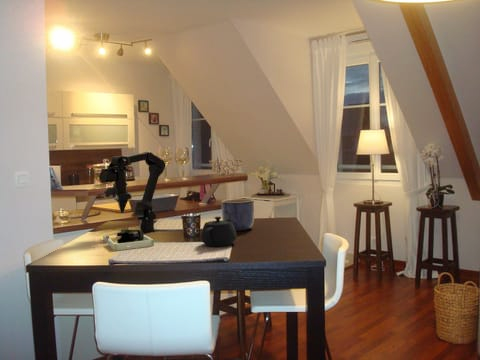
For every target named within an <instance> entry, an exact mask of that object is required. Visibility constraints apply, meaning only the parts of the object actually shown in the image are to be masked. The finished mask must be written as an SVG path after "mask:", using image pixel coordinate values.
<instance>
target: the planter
mask: <svg viewBox="0 0 480 360" xmlns="http://www.w3.org/2000/svg"><path fill="white" fill-rule="evenodd" d="M254 203H255V202H254V199H251V198H232V199H224V200H221V218H222V221H227V220H228V219H229V218H231V221H230V222H231V223H232V225H233V226H234V229H235V231H236V232H241V231H242V232H243V231H248V230H249V229H251V227H253V225H254V222H255V205H254Z"/></svg>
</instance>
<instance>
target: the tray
mask: <svg viewBox="0 0 480 360" xmlns="http://www.w3.org/2000/svg"><path fill="white" fill-rule="evenodd" d="M107 245H108V247H110V249H112V250H113V251H114V252H115V251H116V252H117V251H122V250H130V249H137V248H138V249H140V248H145V247H148V248H149V247H154V246H155V242H154V239H153V238H152V237H149V236H147V235H146V234H144V239H143V241H136V242H128V243H120V244H119V243H117V242H115V241H113V240H112V239H111V238H109V239H108V243H107ZM127 246H130V247H127Z"/></svg>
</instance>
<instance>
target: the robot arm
mask: <svg viewBox="0 0 480 360" xmlns="http://www.w3.org/2000/svg"><path fill="white" fill-rule="evenodd" d="M141 161H142V162H143V161H145V164H146V165H147V166H148V172H149V173H148V174H149V176H148V179H147V183H146V185H145V189H144V192H143V196H142V199H141V200H140V201H137V202H136V205H135V207H134V213H135V216H136V217H137V220H140V221H139V230H141V231H142V232H143V234H144V233H152V232H155V231H156V230H155V225H154V223H155V222H154V221H155V220H156V219H157V214H156V213H154V211H153V209H154V207H153V204H152V202H153V198H154V194H155V190H156V188H157V185H158V181H159V177H160V176H161V175H162V174H163V173H164V171H165V168H166V163H165V161H164V160H163V159H162V158H160V157H159V156H157V155H155V154H154V153H153V152H151V151H144V152H140V153H136V154H131V155H115V156H112V157H111V160H110V163H109V164H108V166H107V168H101V170H100V172H99V176H98V179H99V181H100V182H101V184H103V183H104V184H107V183H113V184H112V187H108V188H106V189H104V190H102V193H103V195H104V198H109V197H111V198H113V200H114V201H115V202H117V205H118V208H119V211H120V213H121V214H123V213H125V209H126V206H127V204H128V201H129V200H132V194H131V193H129V192H128V191H127V188H128V187H127V186H128V182H127V175H126V174H127V173H128V172H130V169H128V166H129V165H132V164H133V163H137V162H141ZM126 172H127V173H126Z"/></svg>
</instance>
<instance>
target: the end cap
mask: <svg viewBox="0 0 480 360" xmlns="http://www.w3.org/2000/svg"><path fill="white" fill-rule="evenodd" d="M144 235H145V234H144V233H143V232H142V231H141V230H140V229H120V231H119V232H117V233H116V237H118V239H116V243H117V244H120V243H128V242H136V241H143V239H144ZM119 237H120V238H119Z"/></svg>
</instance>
